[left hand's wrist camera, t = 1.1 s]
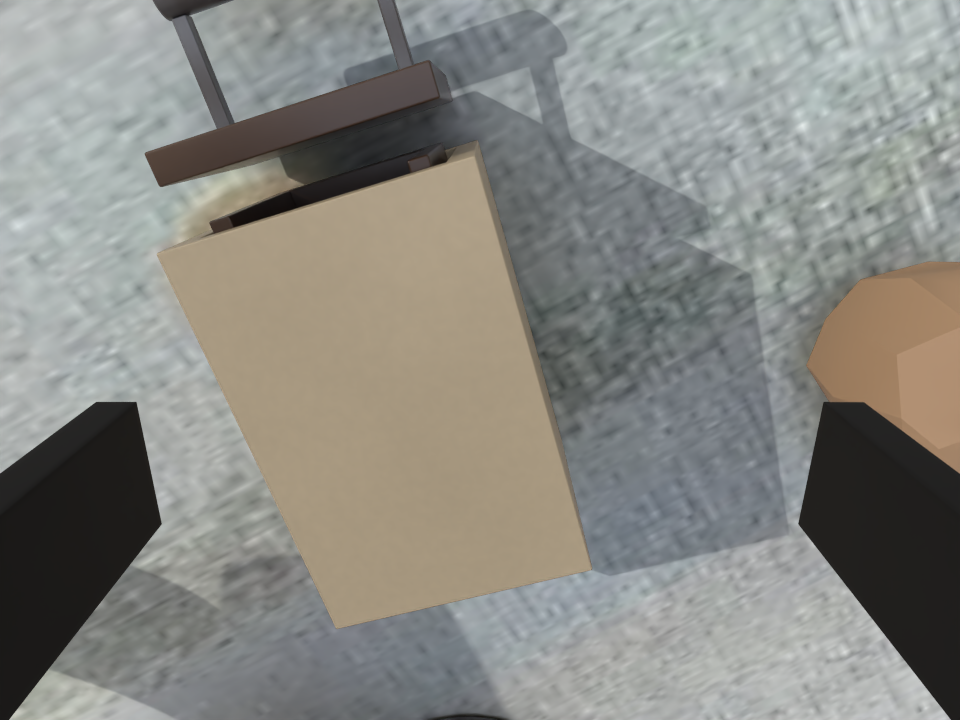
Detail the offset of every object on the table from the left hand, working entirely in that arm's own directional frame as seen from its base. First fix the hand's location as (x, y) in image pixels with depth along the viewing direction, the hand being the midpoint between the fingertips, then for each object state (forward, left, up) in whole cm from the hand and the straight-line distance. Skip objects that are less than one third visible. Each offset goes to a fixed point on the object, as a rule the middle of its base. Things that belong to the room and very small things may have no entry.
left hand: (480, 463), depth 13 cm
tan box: (-6, +2, -22) cm, 23 cm away
